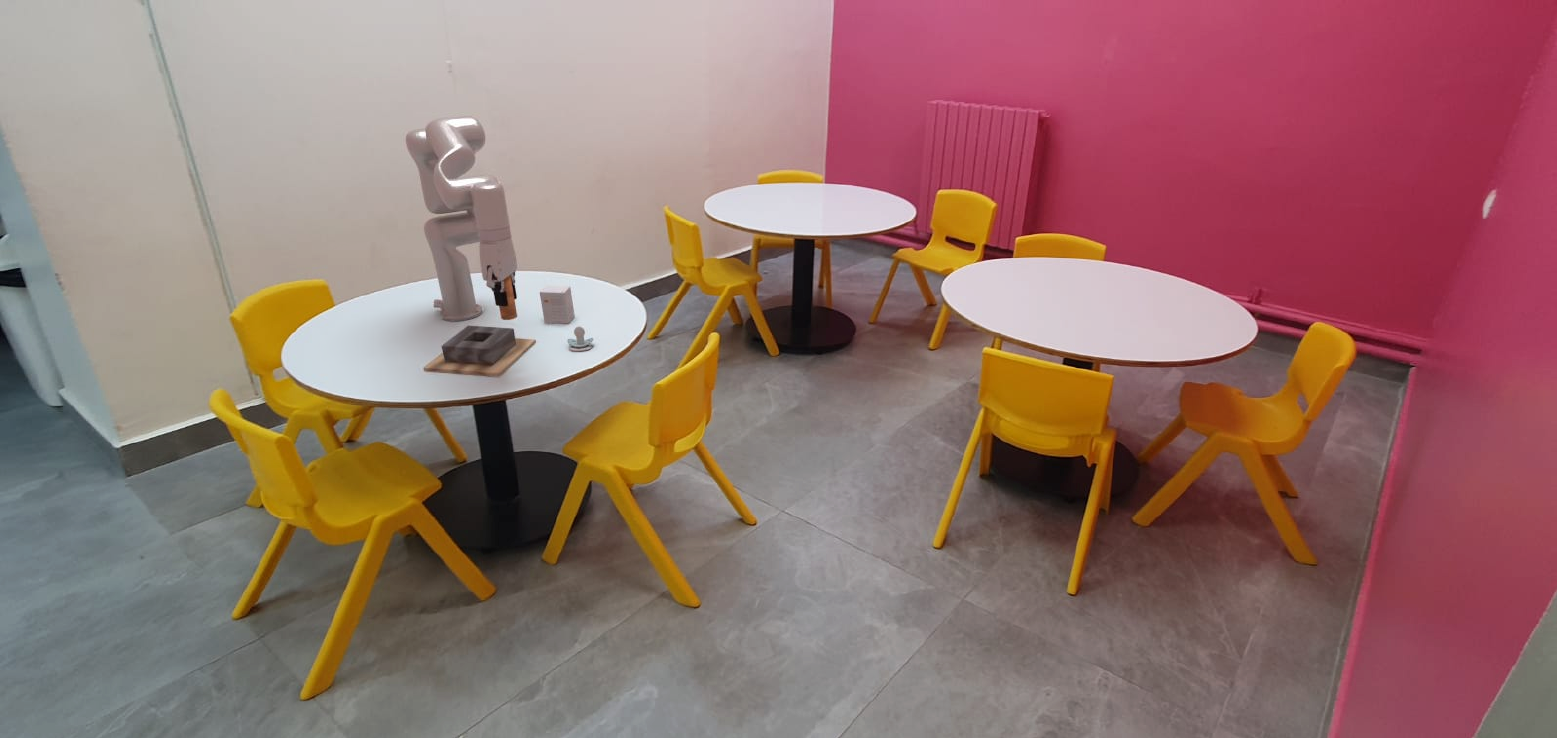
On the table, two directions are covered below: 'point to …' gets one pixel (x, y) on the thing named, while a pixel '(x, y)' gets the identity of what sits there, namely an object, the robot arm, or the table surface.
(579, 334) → the pacifier
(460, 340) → the socket
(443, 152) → the robot arm
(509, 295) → the peg
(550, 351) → the table surface
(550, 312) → the small box
